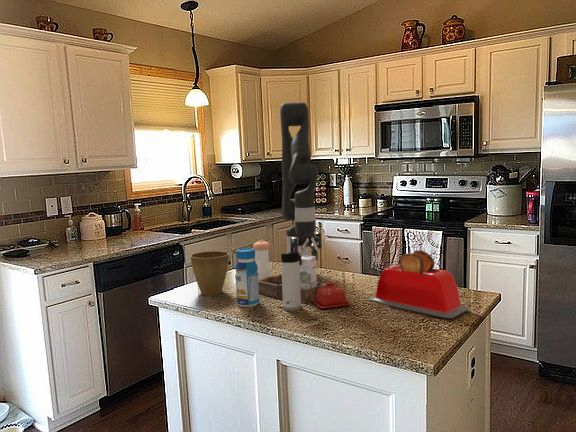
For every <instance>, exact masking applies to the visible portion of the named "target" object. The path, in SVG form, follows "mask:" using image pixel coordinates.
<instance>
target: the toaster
mask: <svg viewBox="0 0 576 432" xmlns="http://www.w3.org/2000/svg"><path fill="white" fill-rule="evenodd" d="M435 262H436V261H435V259H434V258H433V256H432V255H430V254H429V253H427V251H424V250H419V249H417V250H415V251H414V252H409V253H405V254H403V255H401V256H400V259H399V263H400V264H396V265H392V266H390V267H387V268H384V269H383V270H382V271H381V273H380V275H379V277H378V278H379V279H378V281H377V286H376V291H375V295H374V296H371V297H368V301H369V302H373V303H377V304H380V305H385V306H388V307H392V308H396V309H401V310H404V311H409V312H414V313H419V314H424V315H429V316H432V317H438V318H443V319H447V320H448V319H449V320H453V319H455V318H456V317H458V316H460V315H462V314H464V313H466V312H468V311H469V310H470V308H469V306H466V305H463V304H462V303H461V297H460V293H459V289H458V285H457V283H456V280H455V277H454V275H453V274H452V273H451V272H450V271H448V270H445V269H439V268H434V267H435V264H436V263H435Z"/></svg>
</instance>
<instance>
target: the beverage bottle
mask: <svg viewBox="0 0 576 432" xmlns="http://www.w3.org/2000/svg"><path fill="white" fill-rule="evenodd" d="M235 251H236V252H235V255H236V260H237V262H236V263H235V267H234V270H235V274H234V278H235V289H236V304H237V306H239V307H242V308H250V307H255V306H257V305H259V304H260V293H259V285H258V277H259V274H258V272H257V269H258V266H257V264H256V262H255V261H256V258H255V249H254V248H253V247H252V248H251V247H245V248H244V247H243V248H239V249H236V250H235Z"/></svg>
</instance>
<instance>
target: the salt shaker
mask: <svg viewBox="0 0 576 432" xmlns="http://www.w3.org/2000/svg"><path fill="white" fill-rule="evenodd" d="M270 244H271V243H269V242H268V241H264V240H263V239H260V240H259V241H256V242H255V243H253V245H252V248H253V249H255V260H254V261H255V262H256V264H257V266H258V269H257V272H258V274H259V277H258V280H261V279H264V278H268V277H272V273H271V272H272V268H271V262H270V257H269V250H270V249H271V245H270Z"/></svg>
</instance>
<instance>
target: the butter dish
mask: <svg viewBox="0 0 576 432" xmlns="http://www.w3.org/2000/svg"><path fill="white" fill-rule="evenodd" d="M326 283H327V286H324V287H321V288H319V289H318V290H317V296H316V299H313V300H312V301H311V302H312V303H314V304H315V305H316V306H318V307H319V308H320V309H329V308H330V309H331V308H338V307H344V306H345V307H346V306H349V305H351V302H350V301H349V300H348V299H347V298H346V294H345V291H344V290H343V288H341V286H337V285H335V284H334V283H335V282H334V281H329V280H328V281H327V282H326Z"/></svg>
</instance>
